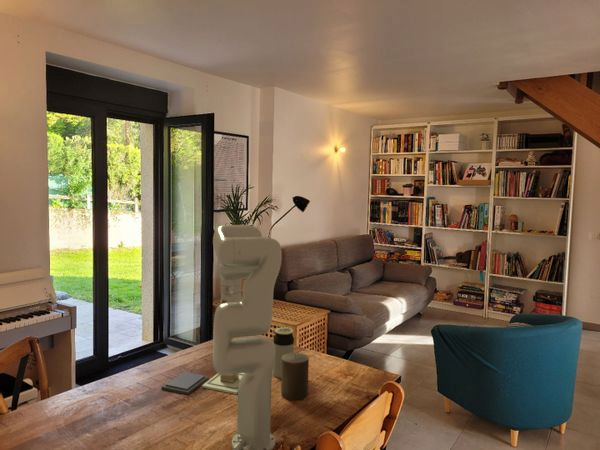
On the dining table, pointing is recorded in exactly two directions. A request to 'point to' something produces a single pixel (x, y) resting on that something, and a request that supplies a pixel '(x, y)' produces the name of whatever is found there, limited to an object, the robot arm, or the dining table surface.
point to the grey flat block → (185, 383)
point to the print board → (222, 384)
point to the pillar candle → (294, 376)
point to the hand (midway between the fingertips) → (230, 335)
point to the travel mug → (282, 347)
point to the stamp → (229, 378)
